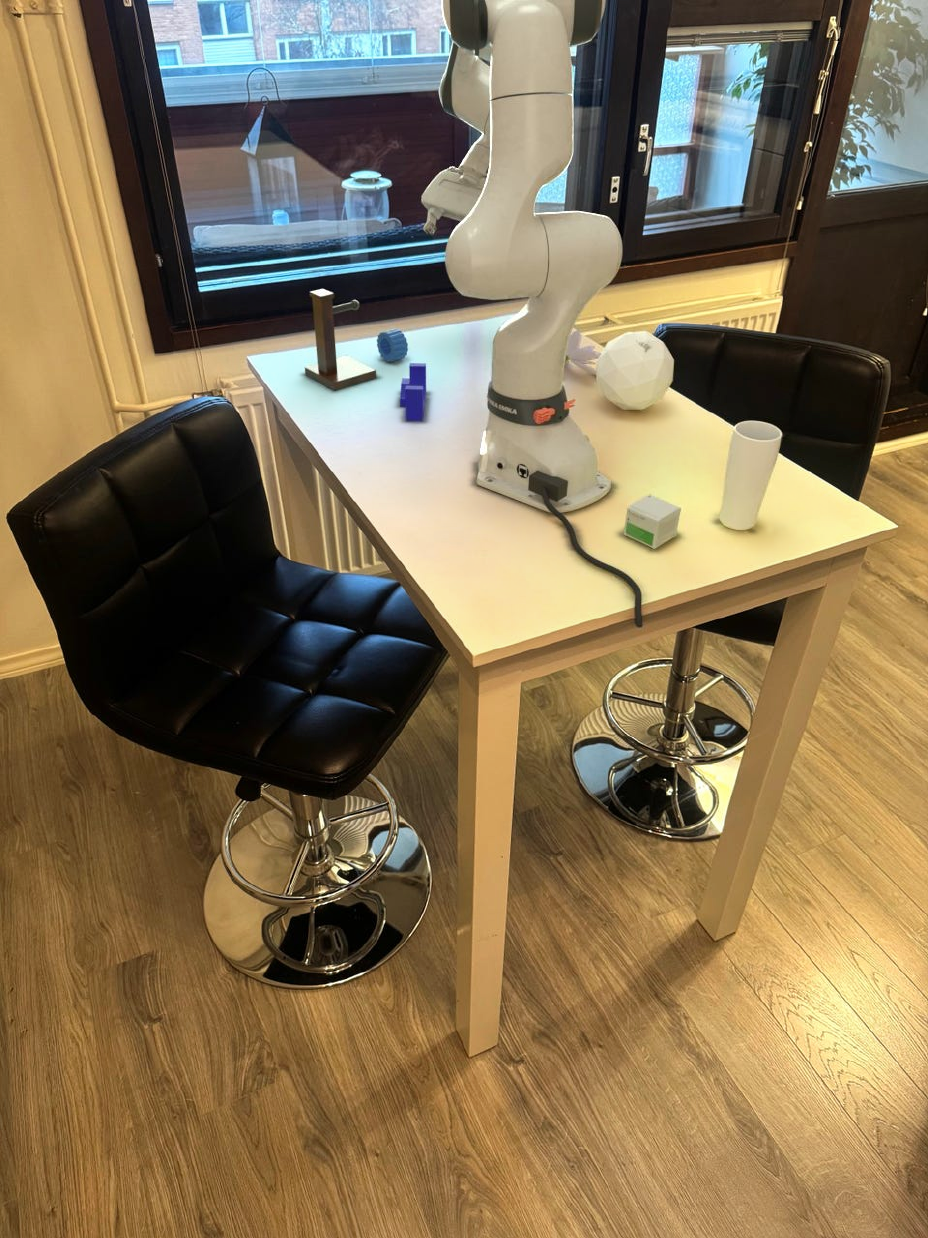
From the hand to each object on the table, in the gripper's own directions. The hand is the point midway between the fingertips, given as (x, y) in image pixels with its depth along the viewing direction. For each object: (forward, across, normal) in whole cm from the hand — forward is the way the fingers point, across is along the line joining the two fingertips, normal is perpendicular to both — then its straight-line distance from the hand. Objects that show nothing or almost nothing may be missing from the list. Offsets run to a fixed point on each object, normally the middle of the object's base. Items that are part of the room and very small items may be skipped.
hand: (443, 237), depth 171 cm
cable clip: (+31, +14, +3) cm, 34 cm away
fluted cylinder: (+22, -6, +11) cm, 26 cm away
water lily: (+6, +23, +28) cm, 36 cm away
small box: (+32, +72, +2) cm, 78 cm away
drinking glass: (+23, +78, +12) cm, 82 cm away
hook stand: (+32, -6, +2) cm, 33 cm away
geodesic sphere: (+8, +40, +26) cm, 48 cm away
